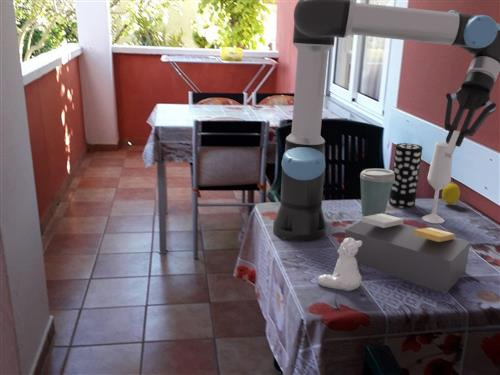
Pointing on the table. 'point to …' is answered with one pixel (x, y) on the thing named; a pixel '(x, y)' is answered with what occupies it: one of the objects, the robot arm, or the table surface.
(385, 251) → the switch box
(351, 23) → the robot arm
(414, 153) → the spotted tube
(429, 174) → the champagne flute
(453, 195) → the lemon
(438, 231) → the amber rocker
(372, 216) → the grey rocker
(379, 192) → the disposable coffee cup
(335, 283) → the white creature statuette
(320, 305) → the table surface
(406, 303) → the table surface
